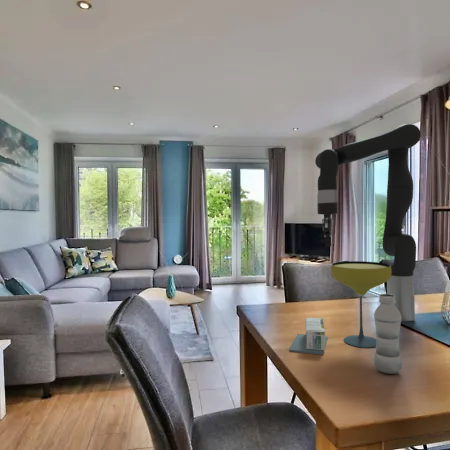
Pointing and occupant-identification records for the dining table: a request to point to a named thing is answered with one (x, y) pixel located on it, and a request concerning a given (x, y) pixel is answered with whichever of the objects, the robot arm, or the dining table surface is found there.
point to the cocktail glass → (361, 288)
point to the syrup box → (315, 334)
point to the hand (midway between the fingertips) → (328, 246)
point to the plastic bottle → (387, 335)
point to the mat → (304, 345)
